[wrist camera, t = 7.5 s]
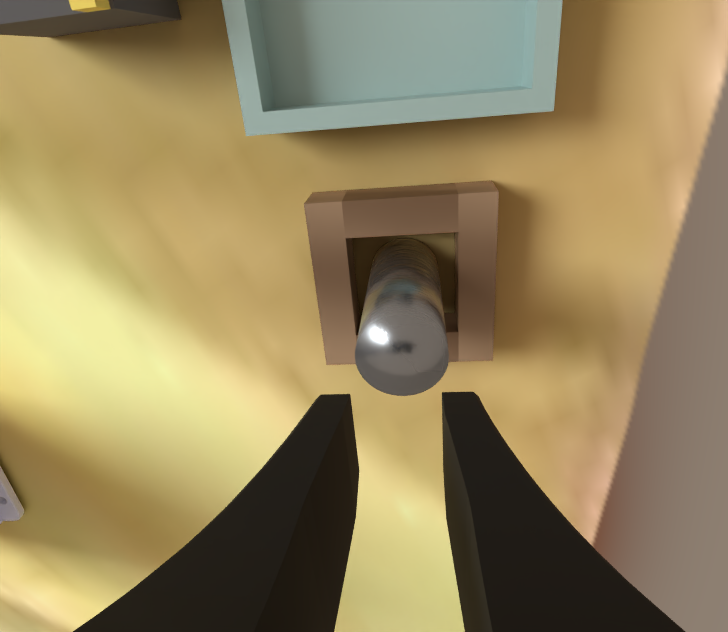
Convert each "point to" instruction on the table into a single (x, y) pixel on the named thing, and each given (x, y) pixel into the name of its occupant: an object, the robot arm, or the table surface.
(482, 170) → the table surface
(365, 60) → the tray
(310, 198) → the pin holder
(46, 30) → the chock
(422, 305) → the pin
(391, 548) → the table surface
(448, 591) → the table surface
